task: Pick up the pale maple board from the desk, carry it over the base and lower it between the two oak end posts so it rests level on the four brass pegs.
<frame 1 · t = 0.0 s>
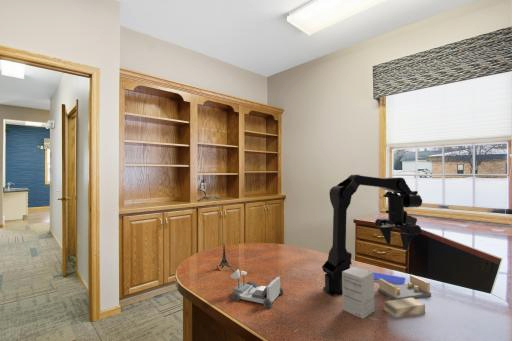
hand: (396, 246, 108), 15 cm above the table, tool pointing down, fingers open, 9 cm apart
board: (404, 312, 86), on the table
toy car: (255, 298, 97), on the table
hard drive: (387, 281, 111), on the table
supplement box: (358, 311, 86), on the table
eiffel tower figurine: (225, 269, 128), on the table
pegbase: (404, 292, 99), on the table
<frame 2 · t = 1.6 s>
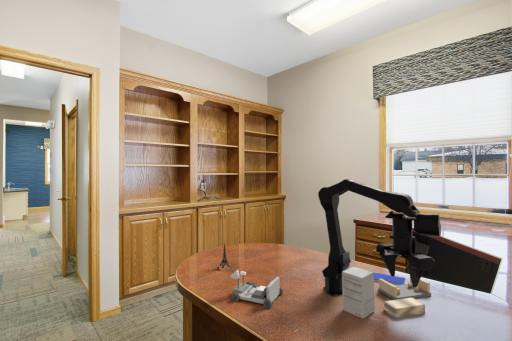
hand: (403, 281, 86), 9 cm above the table, tool pointing down, fingers open, 9 cm apart
nothing on the table moved.
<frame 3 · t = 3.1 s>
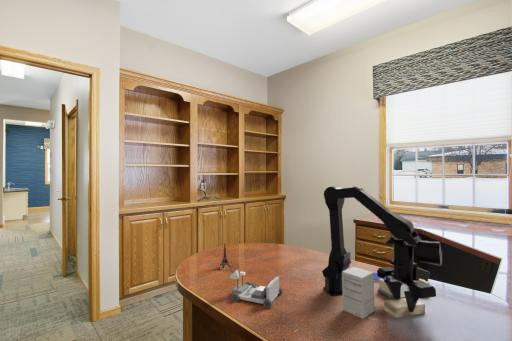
hand: (404, 307, 86), 1 cm above the table, tool pointing down, fingers closed on board, 5 cm apart
board: (404, 311, 86), on the table, touching gripper
everything else where it was.
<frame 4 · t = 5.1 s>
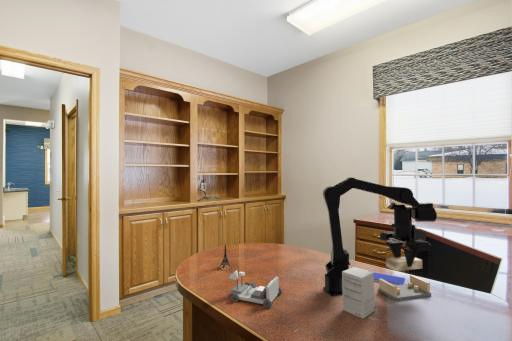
hand: (404, 264, 97), 11 cm above the table, tool pointing down, fingers closed on board, 5 cm apart
board: (404, 267, 97), point 10 cm above the table, touching gripper
everything else where it was.
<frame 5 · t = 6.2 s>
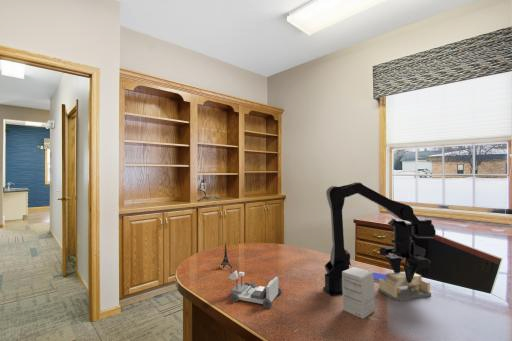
hand: (403, 279, 99), 5 cm above the table, tool pointing down, fingers closed on board, 5 cm apart
board: (403, 282, 99), point 4 cm above the table, touching gripper
when the fingers open (5 cm above the table, at t = 6.9 s): board drops 1 cm, resting on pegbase.
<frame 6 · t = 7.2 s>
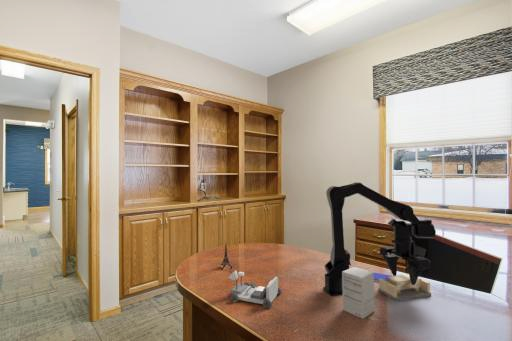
hand: (403, 279, 99), 5 cm above the table, tool pointing down, fingers open, 9 cm apart
board: (403, 285, 99), point 3 cm above the table, touching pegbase
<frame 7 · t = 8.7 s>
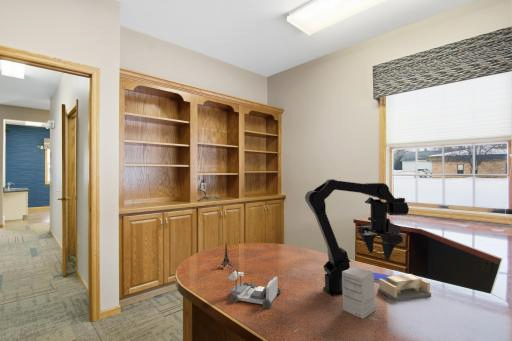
hand: (378, 256, 102), 13 cm above the table, tool pointing down, fingers open, 9 cm apart
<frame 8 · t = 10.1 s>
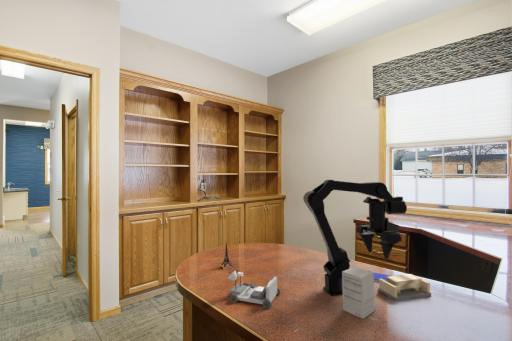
hand: (377, 255, 102), 13 cm above the table, tool pointing down, fingers open, 9 cm apart
at the end: board 0.1 cm off-centre on the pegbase, point 2.6 cm above the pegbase's base; board tilted 0°; the gripper is holding nothing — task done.
